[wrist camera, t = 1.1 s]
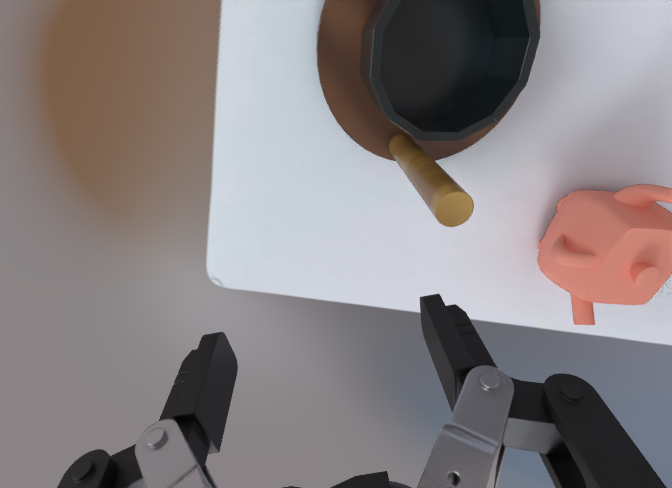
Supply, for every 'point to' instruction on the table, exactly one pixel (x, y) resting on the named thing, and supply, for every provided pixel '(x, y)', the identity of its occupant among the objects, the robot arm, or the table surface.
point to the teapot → (609, 247)
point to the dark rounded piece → (425, 80)
